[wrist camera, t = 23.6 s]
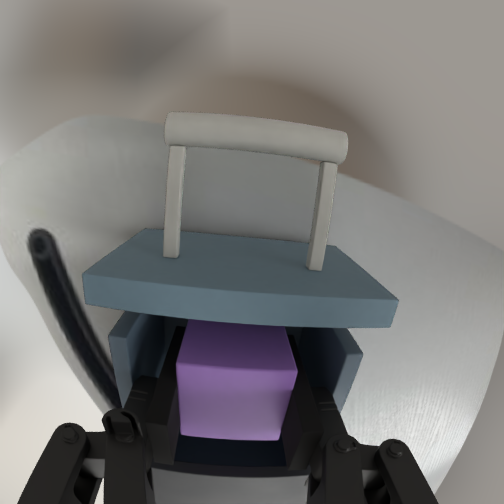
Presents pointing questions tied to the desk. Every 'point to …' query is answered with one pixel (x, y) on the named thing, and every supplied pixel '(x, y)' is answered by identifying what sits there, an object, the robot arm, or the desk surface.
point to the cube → (234, 380)
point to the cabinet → (228, 484)
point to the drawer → (239, 278)
